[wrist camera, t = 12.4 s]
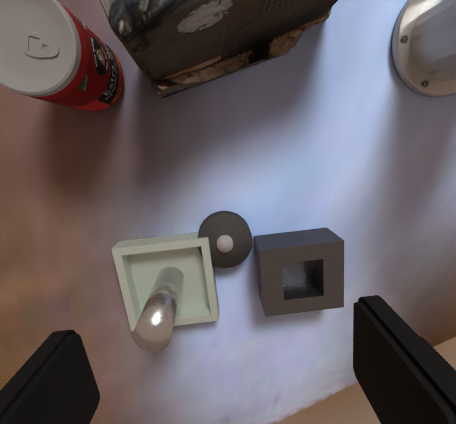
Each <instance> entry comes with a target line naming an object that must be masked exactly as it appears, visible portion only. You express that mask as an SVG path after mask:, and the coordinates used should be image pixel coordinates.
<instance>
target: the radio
mask: <svg viewBox="0 0 456 424" xmlns="http://www.w3.org/2000/svg"><path fill="white" fill-rule="evenodd" d="M337 1H338V0H100V2H101V4H102V7H103V9H104V11H105V14H106V16H107V19H108V21H109V24H110V26H111V28H112V30H113V32H114V33H115V35H116V36H117V37H118V39H119V40H120V41H121V42H122V44H123V45H124V47H125V48H126V50H127V51H128V53H129V54H130V55H131V57H132V58H133V60H134V61H135V63H136V64H137V65H138V67H139V68H140V70H141V71H142V72H143V73H144V74H145V75H146V76H147V77H148V79H149V80H150V81H152V82H151V85H152V87H153V88H154V89H155V90H156V92H157V94H158V95H159V96H161V98H164V97H166V96H169V95H172V94H175V93H178V92H180V91H183V90H186V89H189V88H191V87H194V86H197V85H200V84H203V83H205V82H208V81H211V80H214V79H216V78H219V77H222V76H225V75H227V74H230V73H233V72H236V71H239V70H241V69H244V68H247V67H250V66H252V65H255V64H258V63H261V62H264V61H266V60H269V59H272V58H275V57H277V56H280V55H283V54H286V53H288V51H289V49H290V48H292V47H294V46H295V44H296V41H297V40H298V38H299V37H300V36H301V34H302V32H303V31H305V30H307V29H308V28H309V27H311V26H313V25H315V24H318V23H320V22H323V21H325V20H326V19H327V18H328V17H329V15H330V12H331V8H332V6H333V5H334V4H335V3H336V2H337Z"/></svg>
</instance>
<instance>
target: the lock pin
mask: <svg viewBox="0 0 456 424" xmlns="http://www.w3.org/2000/svg"><path fill="white" fill-rule="evenodd" d="M183 283H184V275H183V273H182V272H181V271H180V270H179V269H178V268H175V267H166V268H163V269H162V270H161V271H160V272H159V274H158V276H157V279H156V281H155V283H154V285H153V288H152V290H151V292H150V295H149V297H148V299H147V301H146V304H145V306H144V308H143V311H142V313H141V315H140V318H139V320H138V322H137V324H136V327H135V329H134V332H133V338H134V341H135V343H136V344H137V345H138V346H139V347H140V348H142V349H144V350H147V351H158V350H161V349H163V348H165V347H166V346H167V345H168V344H169V342H170V339H171V335H172V330H173V326H174V322H175V317H176V313H177V309H178V304H179V300H180V296H181V291H182V287H183Z"/></svg>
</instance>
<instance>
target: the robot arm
mask: <svg viewBox="0 0 456 424" xmlns="http://www.w3.org/2000/svg"><path fill="white" fill-rule="evenodd" d="M392 53H393V60H394V64H395V68H396V70H397V72H398V74H399V76H400V78H401V79H402V80H403V81H404V83H405V84H406V85H407V86H408V87H410V88H411V89H412V90H413V91H415V92H417V93H420V94H422V95H426V96H431V97H437V96H445V95H451V94H454V93H456V0H407V2H406V4H405V5H404V7H403V8H402V10H401V12H400V14H399V17H398V19H397V21H396V25H395V29H394V33H393V40H392ZM353 368H354V373H355V376H356V378H357V380H358V382H359V384H360V386H361V387H362V389H363V391H364V393H365V395H366V397H367V399H368V400H369V402H370V404H371V406H372V408H373V409H374V411H375V413H376V415H377V417H378V419H379V421H380V422H381V424H456V371H455V369H454V368H453V367H451V365H450V364H449V363H448V362H447V361H446V360H445V359H444V358H443V357H442V356H441V355H440V354H439V353H438V352H437V351H436V350H435V349H434V348H433V347H432V346H431V345H430V344H429V343H428V342H427V341H426V340H424V339H423V338H422V337H420V336H418V335H417V334H416V333H415V332H414V331H413V330H412V329H411V328H410V327H409V326H408V325H407V324H406V323H405V322H404V321H403V319H402V318H401V317H400V316H399V315H398V314H397V313H396V312H395V311H394V310H393V309H392V308H391V307H390V306H389V305H388V304H387V303H386V302H385V301H384V300H383V299H382V298H381V297H380V296H378V295H375V296H366V297H360V298H359V300H358V302H355V303H354V323H353ZM99 400H100V393H99V390H98V387H97V384H96V381H95V378H94V375H93V372H92V369H91V366H90V363H89V360H88V357H87V354H86V351H85V348H84V346H83V343H82V340H81V337H80V335H79V334H76V332H75V331H74V330H65V331H56V332H53V333H52V334H51V335H50V336H49V337H48V338H47V339H46V340H45V341H44V342H43V344H42V345H41V346H40V347H39V348H38V349H37V350H36V351H35V353H34V354H33V355H32V356H31V357H30V358H29V359H28V360H27V362H26V363H25V364H24V365H23V366H22V367H21V368H20V369H19V370H18V372H17V373H16V374H15V375H14V376H13V377H12V378H11V379H10V381H9V382H8V383H7V384H6V385H5V386H4V387H3V388H2V390H1V391H0V424H90V421H91V419H92V417H93V415H94V413H95V411H96V409H97V407H98V404H99Z"/></svg>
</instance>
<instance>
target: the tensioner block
mask: <svg viewBox="0 0 456 424" xmlns="http://www.w3.org/2000/svg"><path fill="white" fill-rule="evenodd" d="M254 242H255V253H256V265H257V276H258V287H259V296H260V299H261V303H262V306H263V310H264V314H265V317H266V316H274V315H282V314H291V313H299V312H307V311H316V310H324V309H332V308H340V307H344V240H342V239H341V238H340V237H338V236H337V235H336V234H334V233H333V232H332V231H330V230H329V229H328V228H320V229H311V230H303V231H294V232H285V233H277V234H268V235H260V236H254Z"/></svg>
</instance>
